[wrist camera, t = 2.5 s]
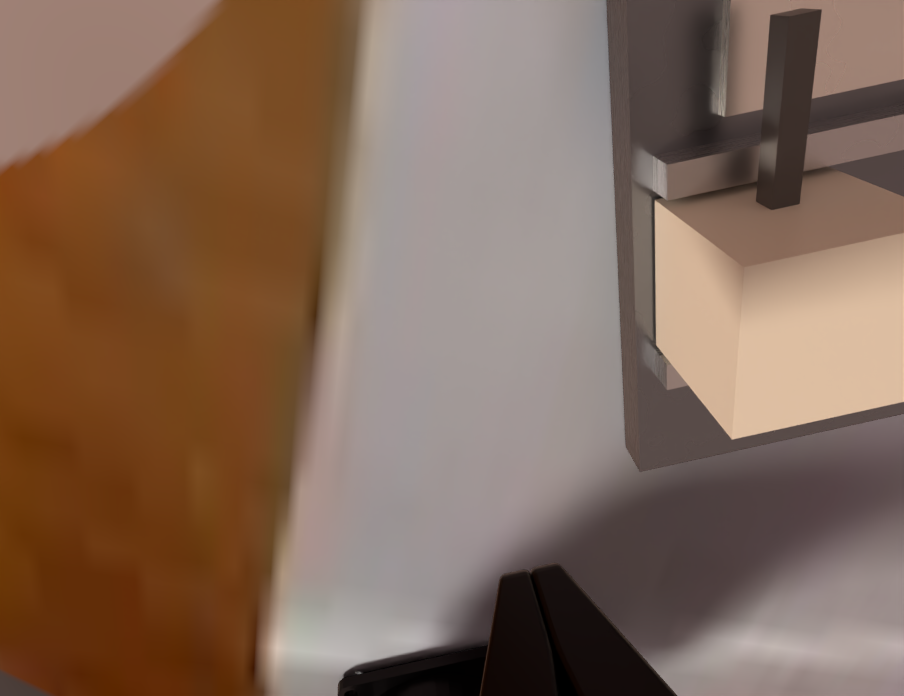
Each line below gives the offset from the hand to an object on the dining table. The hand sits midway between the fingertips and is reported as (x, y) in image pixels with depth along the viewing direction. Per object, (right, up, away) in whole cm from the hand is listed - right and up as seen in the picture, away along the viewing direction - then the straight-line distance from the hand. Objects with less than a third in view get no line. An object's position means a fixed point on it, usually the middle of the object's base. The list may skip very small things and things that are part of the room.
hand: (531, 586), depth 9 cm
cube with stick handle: (+6, +7, +6) cm, 11 cm away
